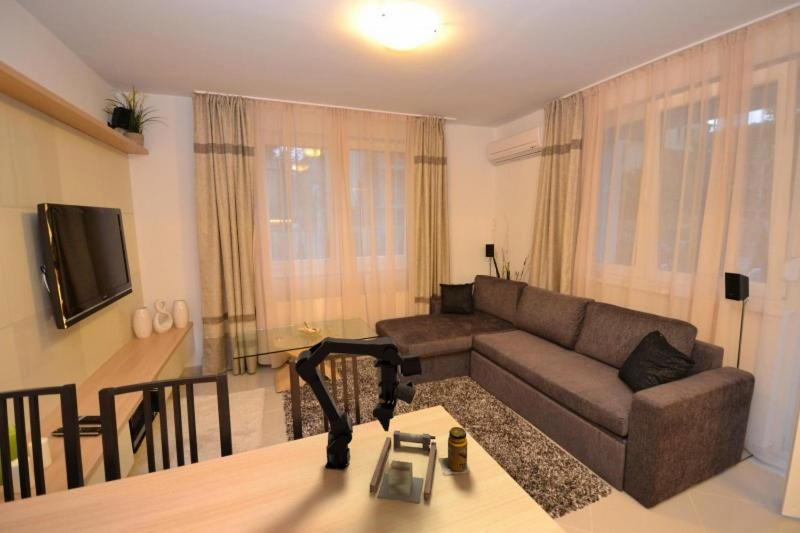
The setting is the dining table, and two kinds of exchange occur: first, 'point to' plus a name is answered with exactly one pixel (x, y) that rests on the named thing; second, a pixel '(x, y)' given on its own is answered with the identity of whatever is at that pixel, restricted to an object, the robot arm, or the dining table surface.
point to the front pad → (412, 498)
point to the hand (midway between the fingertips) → (389, 422)
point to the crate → (400, 478)
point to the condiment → (456, 453)
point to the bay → (398, 437)
